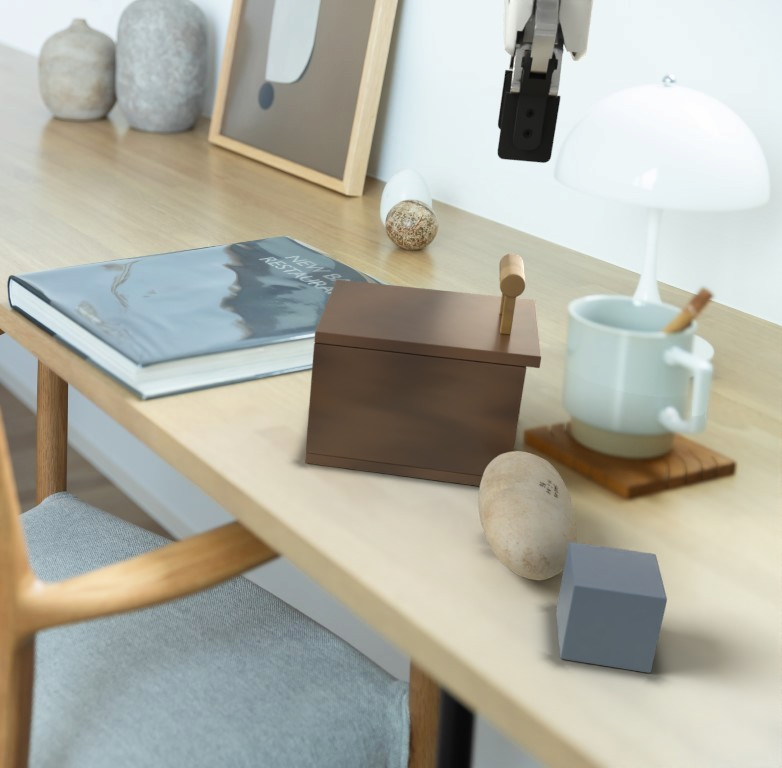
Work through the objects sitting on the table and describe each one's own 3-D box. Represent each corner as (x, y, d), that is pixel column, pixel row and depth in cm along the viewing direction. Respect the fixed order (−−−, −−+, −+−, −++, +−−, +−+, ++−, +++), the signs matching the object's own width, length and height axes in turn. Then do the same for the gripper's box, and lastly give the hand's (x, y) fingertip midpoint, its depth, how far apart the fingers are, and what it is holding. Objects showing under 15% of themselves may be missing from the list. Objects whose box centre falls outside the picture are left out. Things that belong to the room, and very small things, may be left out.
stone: (559, 462, 76) (627, 501, 64) (520, 550, 76) (581, 606, 64) (477, 429, 75) (530, 463, 64) (439, 518, 76) (484, 569, 64)
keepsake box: (505, 419, 88) (522, 309, 85) (507, 490, 78) (526, 367, 74) (326, 397, 91) (335, 290, 87) (304, 463, 80) (314, 343, 77)
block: (640, 624, 64) (656, 553, 62) (650, 673, 60) (667, 599, 58) (555, 611, 65) (568, 541, 63) (559, 659, 61) (573, 585, 59)
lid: (533, 310, 85) (544, 243, 83) (539, 368, 74) (551, 293, 72) (335, 289, 87) (340, 224, 85) (314, 342, 77) (319, 269, 75)
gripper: (646, -144, 61) (590, 179, 68) (616, -136, 77) (573, 126, 84) (500, -149, 63) (459, 167, 70) (500, -141, 78) (467, 117, 85)
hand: (521, 144), depth 77 cm, fingers open, 9 cm apart
